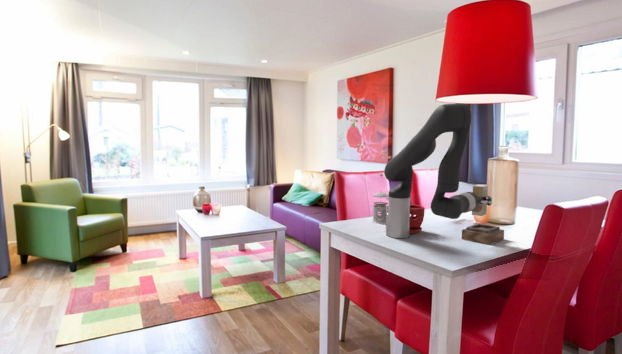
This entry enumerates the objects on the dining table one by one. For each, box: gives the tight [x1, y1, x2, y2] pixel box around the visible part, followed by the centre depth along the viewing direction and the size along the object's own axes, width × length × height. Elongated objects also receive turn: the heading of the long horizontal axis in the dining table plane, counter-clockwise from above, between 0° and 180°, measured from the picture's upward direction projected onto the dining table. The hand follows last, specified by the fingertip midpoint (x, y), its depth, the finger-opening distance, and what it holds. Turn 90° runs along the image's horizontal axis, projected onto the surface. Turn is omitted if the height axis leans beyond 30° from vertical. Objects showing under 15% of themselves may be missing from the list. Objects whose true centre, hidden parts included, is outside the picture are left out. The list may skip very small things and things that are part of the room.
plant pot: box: [409, 204, 426, 234], centre depth 174 cm, size 13×13×12 cm
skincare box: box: [471, 184, 489, 217], centre depth 155 cm, size 6×4×12 cm
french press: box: [371, 173, 389, 224], centre depth 195 cm, size 10×12×25 cm
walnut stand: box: [461, 223, 505, 246], centre depth 159 cm, size 12×13×5 cm
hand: (482, 198), depth 157 cm, fingers closed on skincare box, 4 cm apart
